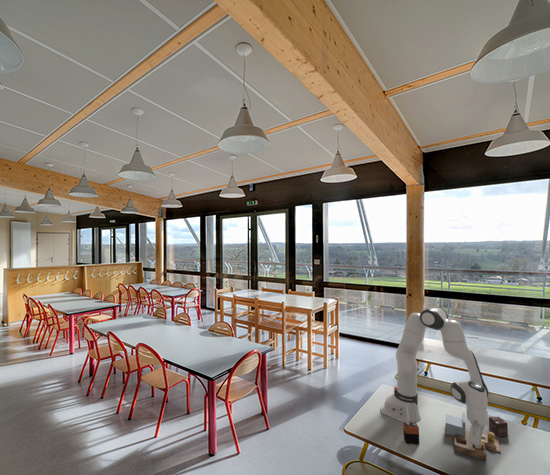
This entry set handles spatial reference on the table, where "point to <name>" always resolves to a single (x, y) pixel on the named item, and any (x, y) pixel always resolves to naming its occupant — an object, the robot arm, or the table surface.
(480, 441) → the pin
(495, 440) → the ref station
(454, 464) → the table surface
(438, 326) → the robot arm
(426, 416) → the table surface
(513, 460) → the table surface
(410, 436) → the battery
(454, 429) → the cover
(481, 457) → the board
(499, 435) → the box
